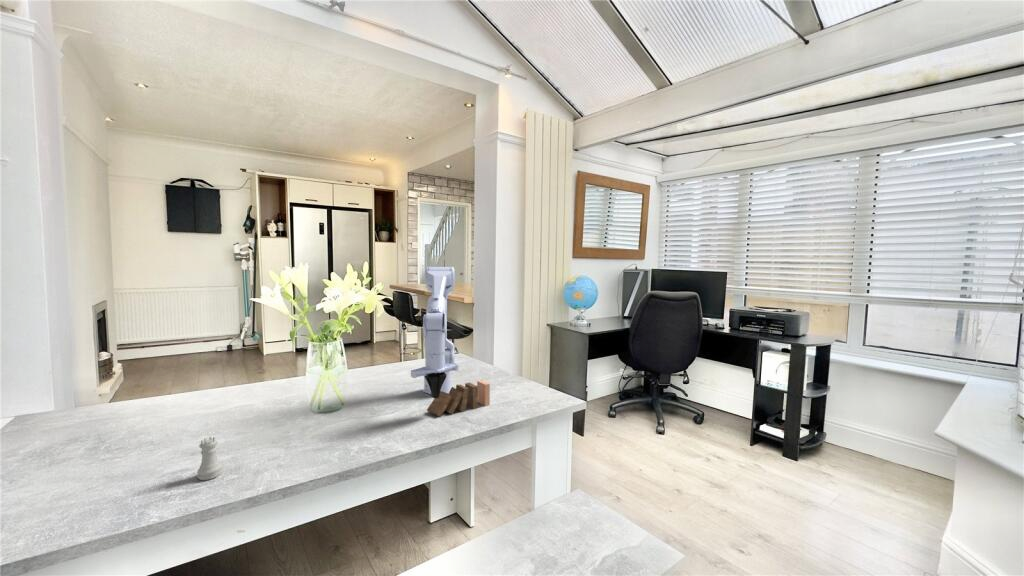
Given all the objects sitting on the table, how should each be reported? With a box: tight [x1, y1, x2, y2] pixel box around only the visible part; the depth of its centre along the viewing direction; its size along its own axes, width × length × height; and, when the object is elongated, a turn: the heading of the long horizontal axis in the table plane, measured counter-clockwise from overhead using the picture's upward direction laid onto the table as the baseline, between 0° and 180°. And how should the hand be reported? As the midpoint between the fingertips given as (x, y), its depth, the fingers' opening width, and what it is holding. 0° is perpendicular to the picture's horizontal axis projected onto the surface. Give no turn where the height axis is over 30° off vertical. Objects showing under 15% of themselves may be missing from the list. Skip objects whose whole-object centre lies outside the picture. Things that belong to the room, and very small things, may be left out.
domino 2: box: [444, 386, 463, 415], centre depth 126 cm, size 2×5×7 cm
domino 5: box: [476, 379, 491, 407], centre depth 132 cm, size 2×5×7 cm, turn 36°
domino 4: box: [464, 382, 479, 410], centre depth 130 cm, size 2×5×7 cm, turn 37°
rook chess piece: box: [196, 436, 223, 481], centre depth 87 cm, size 4×4×8 cm
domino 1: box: [426, 391, 453, 418], centre depth 124 cm, size 2×5×7 cm
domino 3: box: [455, 384, 469, 412], centre depth 127 cm, size 2×5×7 cm, turn 37°
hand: (435, 397), depth 122 cm, fingers closed
